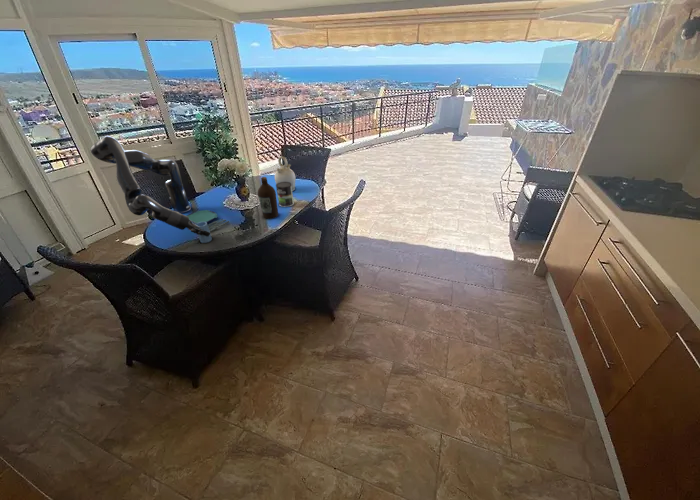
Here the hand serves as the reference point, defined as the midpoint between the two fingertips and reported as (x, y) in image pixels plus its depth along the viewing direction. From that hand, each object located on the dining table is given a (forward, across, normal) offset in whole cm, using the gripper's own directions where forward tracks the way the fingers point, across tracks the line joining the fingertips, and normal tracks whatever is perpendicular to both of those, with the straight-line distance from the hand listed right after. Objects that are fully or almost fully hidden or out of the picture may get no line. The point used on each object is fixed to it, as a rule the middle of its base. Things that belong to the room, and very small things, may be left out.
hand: (207, 232), depth 161 cm
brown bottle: (+31, -4, +24) cm, 40 cm away
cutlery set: (+6, -23, 0) cm, 24 cm away
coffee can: (+42, -14, +36) cm, 58 cm away
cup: (+2, 0, -4) cm, 5 cm away
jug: (+51, -38, +45) cm, 78 cm away
